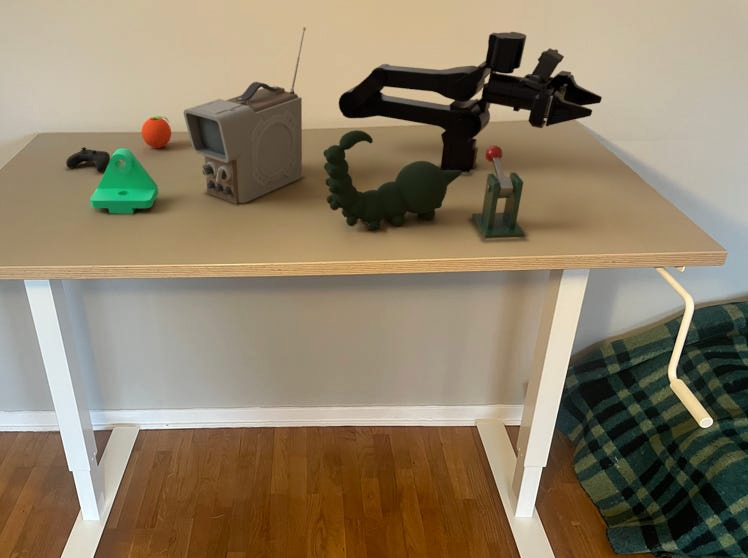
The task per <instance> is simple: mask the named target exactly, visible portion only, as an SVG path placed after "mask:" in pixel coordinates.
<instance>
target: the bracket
mask: <svg viewBox="0 0 748 558" xmlns="http://www.w3.org/2000/svg"><path fill="white" fill-rule="evenodd" d="M509 177H510V178H511V181H512V185H513V191H512V194H511V196H510V198H505V203H504V208H503V212H497V207H498V200H499V198H498V195H499V189H500V182H499V180H498V179H497V177H496V174H494V173H487V178H486V185H485V191H484V196H483V204H482V210H481V213H472V215H471V218H472V220H473V221H474V223H475V224H476V226H477V228H478V229H479V231H480V233H481V234H482V236H483V237H484V239H502V238H504V239H505V238H506V239H507V238H524V237H525V232H524V230H523V229H522V228H521V226H520V225H519V223H518V222H517V220H518V215H519V209H520V203H521V199H522V193H523V186H524V181H523V180H522V179H521V177H520V176H519V175H518V174H517V173H516V172H510V173H509Z"/></svg>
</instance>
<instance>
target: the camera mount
mask: <svg viewBox="0 0 748 558" xmlns="http://www.w3.org/2000/svg"><path fill="white" fill-rule="evenodd" d="M121 161H123V162H124V163H122V162H121ZM158 187H159V186H158V184H157V183H156V182H155V181H154V179H153V178H152V177H151V175H150V174H149V173H148V171H147V170H146V169H145V167H144V166H143V165H142V163H141V162H140V160H139V159H138V158H137V157H136V156H135V154H134V152H132V151H131V150H129V149H128V148H125V147H123V148H121V147H120V148H118V149H116V150H115V151H114V153H113V154H112V156H110V161H109V164H107V166H106V168H105V169H104V173H103V174H102V177H101V179H100V181H99V183H98V185H97V187H96V189H95V191H94V192H93V194H92V195H91V197H90V198H89V202H90V207H91V208H93V209H108V213H109V214H134V212H135V210H136V209H149V208H152V207H153V205H154V203H155V201H156V198H157V196H158V194H159V188H158Z"/></svg>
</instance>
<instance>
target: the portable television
mask: <svg viewBox="0 0 748 558" xmlns="http://www.w3.org/2000/svg"><path fill="white" fill-rule="evenodd" d="M302 30H303V31H302V36H301V39H300V40H301V41H300V45H299V51H298V56H297V58H296V64H295V69H294V74H293V77H292V83H291V88H290V91H286V90H285V88H284V87H280V86H276V85H275V86H270V85H269V84H267V83H264V82H260V81H254V82H252V83H250V84H249V85H248V87H247V88H246V90H245V91H244V92H243V93H242V94H240V95H238V96H235V97H231V98H228V99H226V100H225V99H221V98H218V99H215V100H211V101H208V102H205V103H201V104H199V105H196V106H193V107H189V108H186V109H184V110H183V117H184V121H185V125H186V129H187V132H188V137H189V140H190V143H191V147H192V150H193V151H194V152H195V153H196V154H198V155H201V156H204V164H203V165H202V166H201V168H202V174H203V175H204V176H205V178H206V191H207V194H208V195H210V196H213V197H215V198H219V199H221V200H224V201H226V202H230V203H233V204H235V205H238V204H245V203H248V202H250V201H252V200H255V199H258V198H259V197H261V196H264V195H266V194H268V193H270V192H273V191H276V190H278V189H280V188H282V187H284V186H286V185H288V184H290V183H293V182H295V181H298V180H300V179H302V178H303V174H302V173H303V168H302V167H303V158H302V157H303V149H302V148H303V146H302V145H303V140H302V139H303V133H302V132H303V131H302V129H303V128H302V127H303V124H302V123H303V120H302V118H303V117H302V116H303V115H302V114H303V110H302V104H303V103H302V97H300V96H298V94H297V93H295V83H296V78H297V73H298V68H299V63H300V59H301V58H300V56H301V51H302V45H303V41H304V35H305V31H306V30H307V28H306V27H305V26H304V27H302Z"/></svg>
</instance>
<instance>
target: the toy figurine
mask: <svg viewBox="0 0 748 558" xmlns="http://www.w3.org/2000/svg"><path fill="white" fill-rule="evenodd" d="M361 142H367V143H368V144H372V143H373V142H374V140H373V138H372V136H371V135H370V134H368V133H367V132H366V131H363V130H355V129H354V130H351V131H347V132H346V133H345V134H343V135H342V136H341V138H340V139H339V144H332V145H330V146H329V147H328V148H327V149H324V151H323V153H322V154H323V157H324V158H325V160H326V162H325V163H324V165H323V169H324V170H325V171H326V174H327V175H328V177H327V178H325V180H324V183H325V186H327V187H328V192H330V194H329V195H327V197H326V202H327V203H328V204H329V207H330V210H332V211H338V210H339V209H341V214H342V216H343V218H346V220H345V222H346V224H347V225H348V227H354V226H356V225H357V224H358V220H359V221H362V223H364V224H365V223H366V224H368V227H369V229H370V230H372V231H376V230H378V229H379V228H380V227H381V222H383V221H384V220H385V219H386V220H389V221H390V222H391V224H392V225H393V226H394V227H401V226H402V225H404V224H405V220H406V217H405V215H406V214H407V213H409V214H413V215H417V217H418V219H419V220H421V221H424V222H430V221H432V220H434V218H435V217H436V210H437V209H440V208H442V206H443V202H444V200H445V198H446V194H447V191H448V190H447V189H448V186H449V185H450V184H451V183H453V182H454V181H455V180H456V179H457V178H459V177H460V176H461V175H462V174H463V172H462V171H461V170H441V169H440V168H439V167H440V166H438V165H437V164H435V163H433V162H429V161H426V160H418V161H413V162H411V163H409V164H407V165H405V166H404V167H403V168H402V169H401V170H400V171H399V172H398V173H397V175H396V177H395V179H394V181H393V180H392V181H387V182H385V183H382V184H381V185H380V186H379V187H378V188H377V189H368V190H366V191H364V192H363V191H360V190H357V188H356V186H355V185H353V178H352V175H351V174H350V173H349V169H350V167H349V163H348V161H347V160H346V152H345V151H348V150H350V149H352V148H353V147H354V146H355V145H356V144H358V143H361Z"/></svg>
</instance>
